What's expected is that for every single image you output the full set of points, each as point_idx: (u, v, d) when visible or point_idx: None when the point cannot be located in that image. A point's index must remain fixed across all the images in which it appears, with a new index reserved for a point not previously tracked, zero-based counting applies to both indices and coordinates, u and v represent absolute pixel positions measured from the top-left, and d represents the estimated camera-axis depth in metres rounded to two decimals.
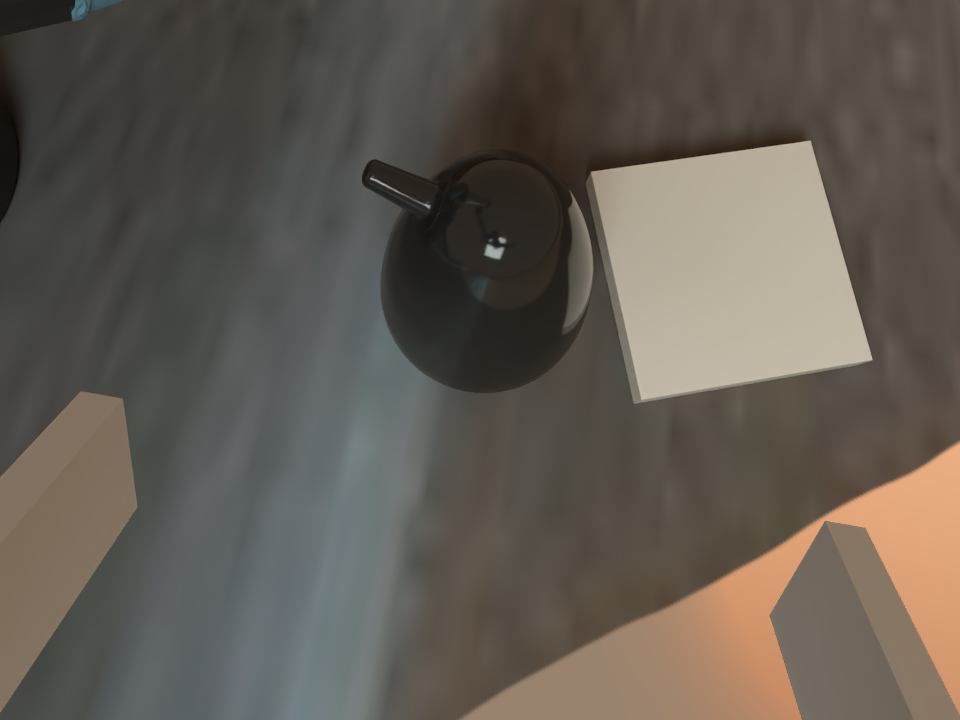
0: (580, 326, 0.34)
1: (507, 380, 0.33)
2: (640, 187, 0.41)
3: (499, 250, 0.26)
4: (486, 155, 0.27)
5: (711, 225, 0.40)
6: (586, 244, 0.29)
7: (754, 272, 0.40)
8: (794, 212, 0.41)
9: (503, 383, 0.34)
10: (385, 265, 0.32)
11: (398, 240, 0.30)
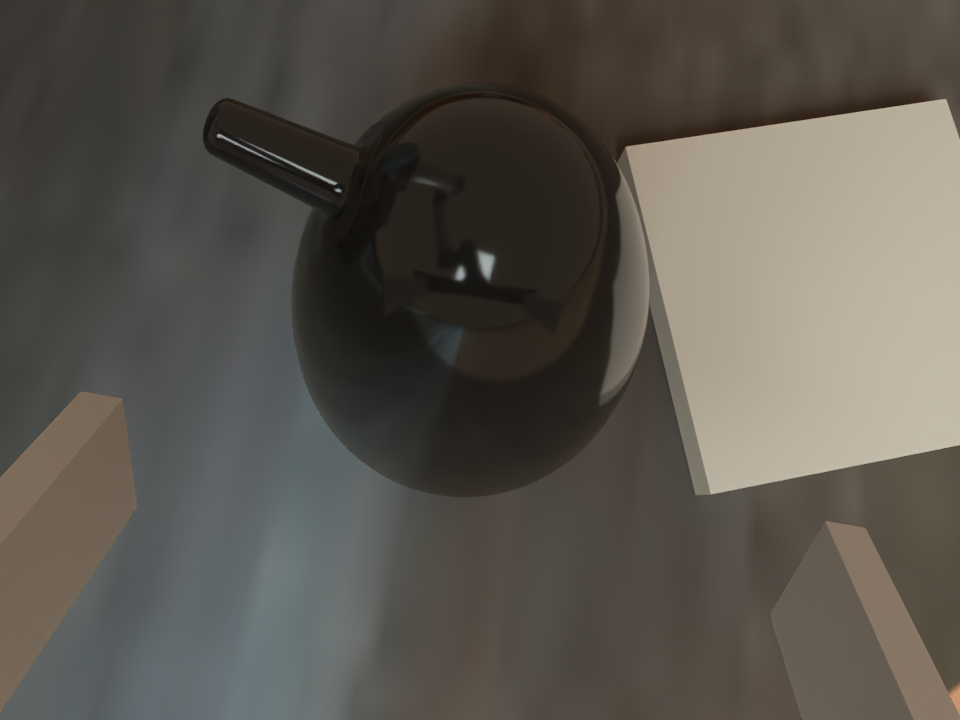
0: None
1: (503, 486, 0.20)
2: (698, 169, 0.27)
3: (480, 280, 0.12)
4: (454, 88, 0.13)
5: (806, 224, 0.27)
6: (645, 262, 0.16)
7: (873, 294, 0.27)
8: (928, 204, 0.27)
9: (496, 489, 0.20)
10: None
11: (301, 257, 0.16)
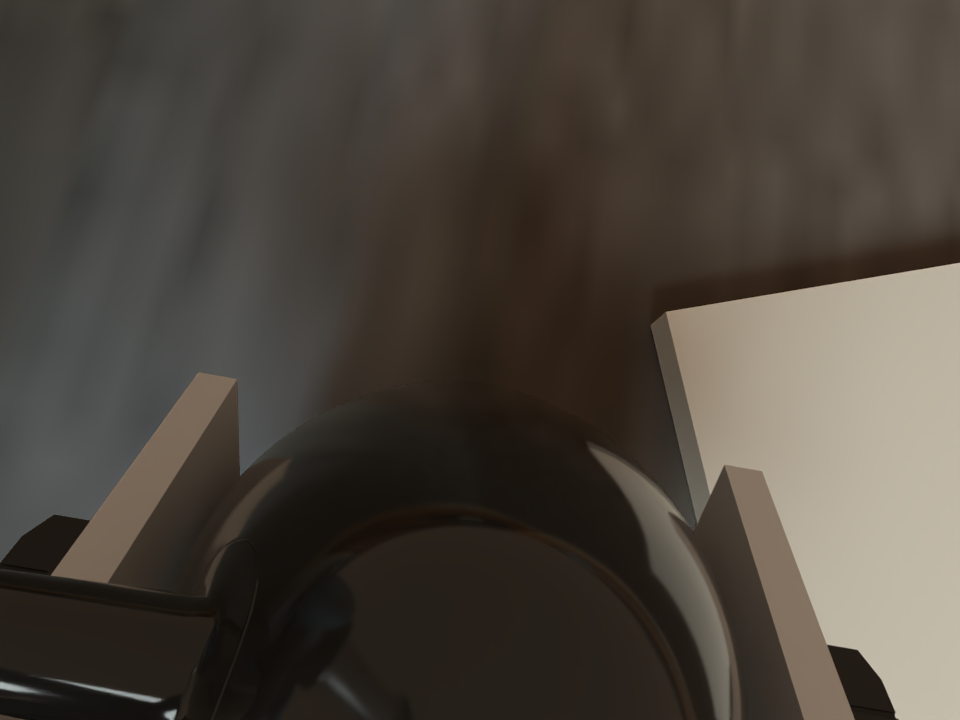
0: None
1: None
2: (763, 342, 0.20)
3: None
4: (394, 539, 0.06)
5: (908, 419, 0.20)
6: None
7: None
8: None
9: None
10: None
11: None
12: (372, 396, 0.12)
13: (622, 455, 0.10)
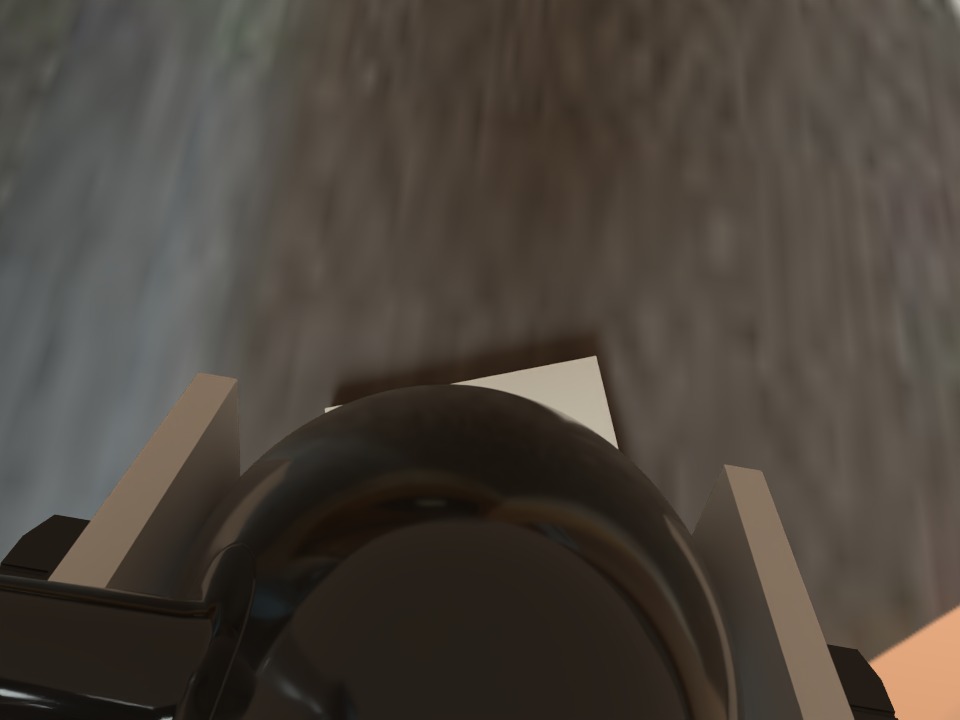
0: None
1: None
2: None
3: None
4: (390, 544, 0.06)
5: None
6: None
7: None
8: None
9: None
10: None
11: None
12: (370, 399, 0.12)
13: (620, 459, 0.10)
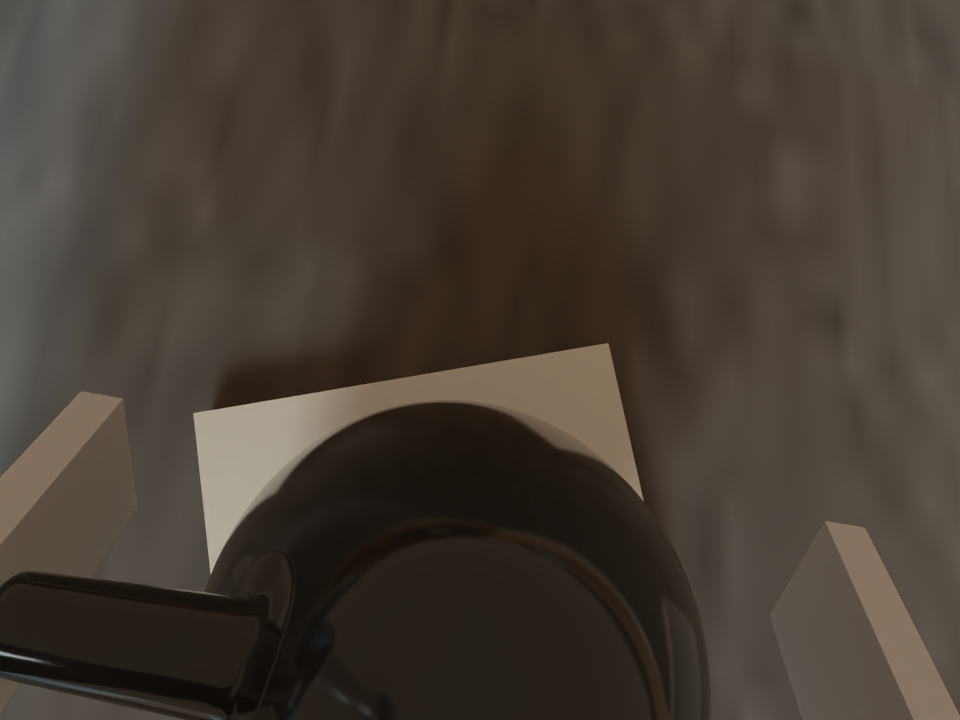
0: None
1: None
2: (283, 441, 0.22)
3: None
4: (409, 552, 0.08)
5: None
6: (710, 706, 0.10)
7: None
8: None
9: None
10: None
11: None
12: (382, 417, 0.13)
13: (605, 472, 0.12)
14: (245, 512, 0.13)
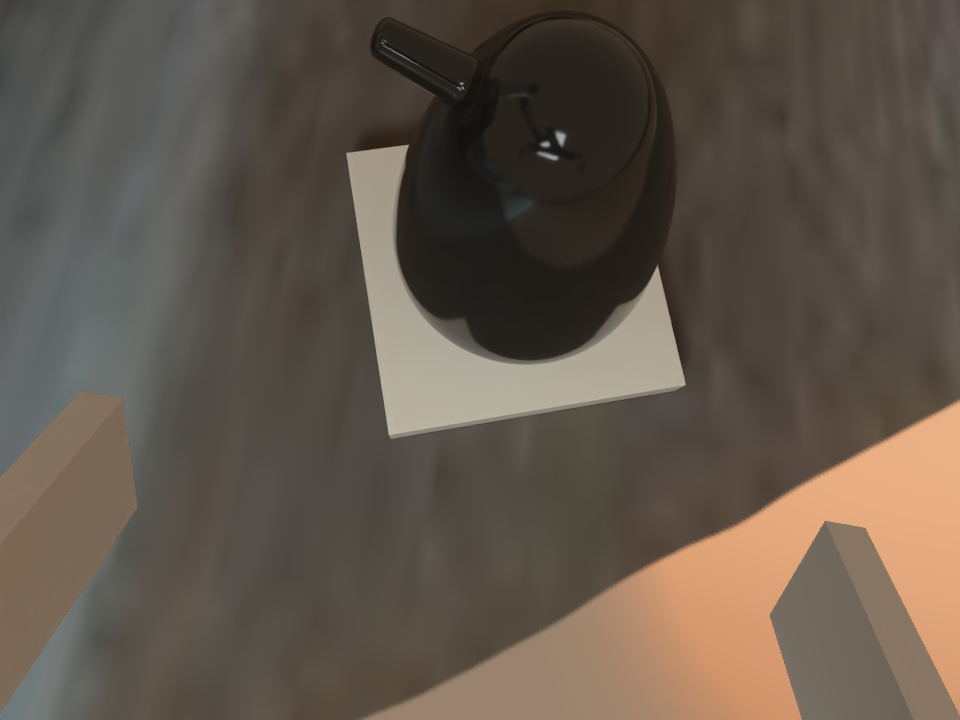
0: None
1: (558, 345, 0.26)
2: None
3: (567, 138, 0.18)
4: (545, 13, 0.19)
5: None
6: (675, 151, 0.21)
7: None
8: None
9: (552, 350, 0.26)
10: (400, 191, 0.24)
11: (418, 148, 0.22)
12: None
13: None
14: None
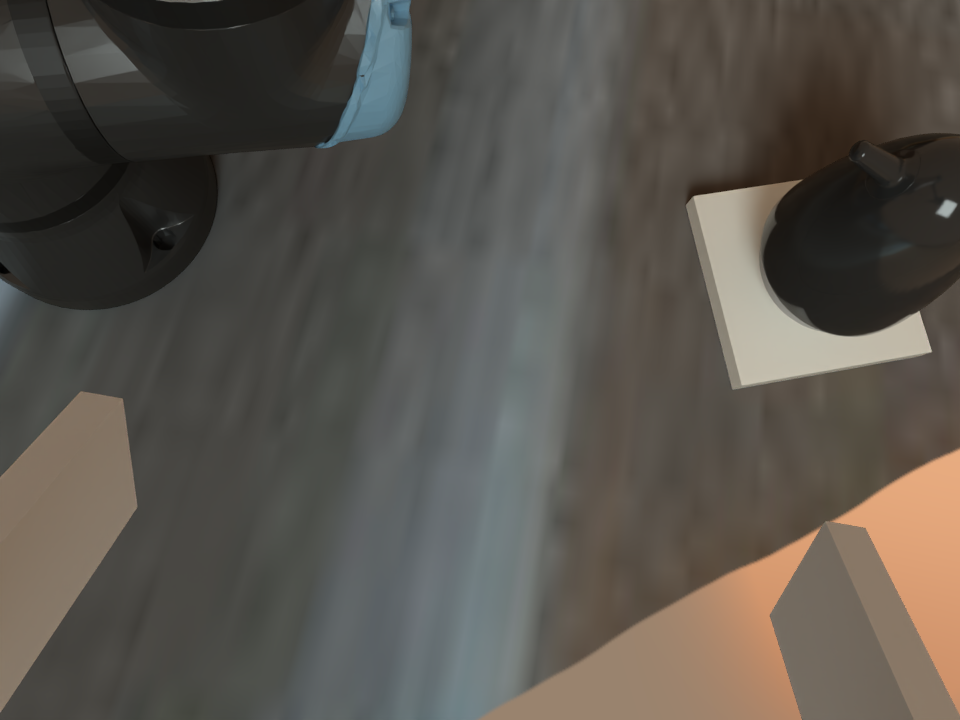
0: None
1: (889, 323, 0.41)
2: (734, 208, 0.48)
3: None
4: (947, 136, 0.34)
5: None
6: None
7: None
8: None
9: (883, 326, 0.41)
10: (804, 229, 0.40)
11: (841, 206, 0.37)
12: None
13: None
14: (824, 177, 0.39)
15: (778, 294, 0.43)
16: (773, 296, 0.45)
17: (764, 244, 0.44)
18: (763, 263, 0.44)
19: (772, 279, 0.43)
